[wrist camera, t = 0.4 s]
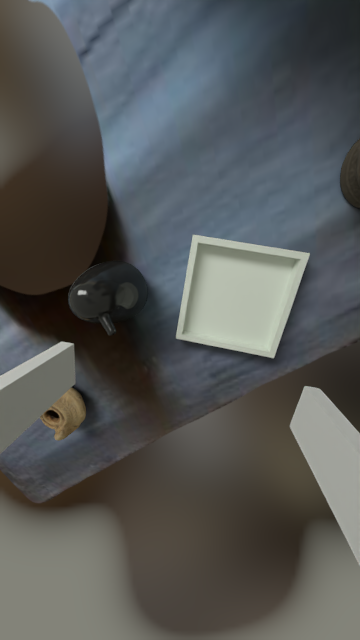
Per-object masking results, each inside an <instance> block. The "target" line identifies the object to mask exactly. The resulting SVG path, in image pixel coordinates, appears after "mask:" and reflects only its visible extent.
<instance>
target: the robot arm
mask: <svg viewBox="0 0 360 640" xmlns="http://www.w3.org/2000/svg"><path fill="white" fill-rule="evenodd" d="M74 384H75V361H74V344H71V343H66V342H60V343H59V344H57V345H55V346H53V347H51V348H50V349H48V350H46V351H44V352H42V353H41V354H39V355H37V356H35V357H33V358H32V359H30V360H28V361H26V362H25V363H23V364H21V365H19V366H17V367H16V368H14V369H12V370H10V371H8V372H7V373H5V374H3V375H1V376H0V454H1V453H2V452H3V451H4V450H5V449H6V448H7V447H8V446H9V445H10V444H11V443H12V442H14V441H15V440H16V439H17V438H18V437H19V436H20V435H21V434H22V433H23V432H24V431H25V430H26V429H27V428H28V427H30V426H31V425H32V424H33V423H34V422H35V421H36V420H37V419H38V418H39V417H40V416H41V415H42V414H43V413H44V412H46V411H47V410H48V409H49V408H50V407H51V406H52V405H53V404H54V403H55V402H56V401H57V400H58V399H59V398H61V397H62V396H63V395H64V394H65V393H66V392H67V391H68V390H69V389H70V388H71V387H72V386H73V385H74ZM290 428H291V430H292V432H293V434H294V436H295V438H296V440H297V442H298V444H299V446H300V448H301V450H302V452H303V454H304V456H305V458H306V460H307V462H308V464H309V466H310V468H311V470H312V472H313V474H314V476H315V478H316V480H317V482H318V484H319V486H320V488H321V490H322V492H323V494H324V496H325V498H326V500H327V502H328V504H329V506H330V508H331V510H332V512H333V514H334V516H335V517H336V520H337V522H338V524H339V525H340V528H341V530H342V532H343V533H344V536H345V537H346V539H347V542H348V543H349V545H350V547H351V549H352V551H353V553H354V555H355V557H356V559H357V561H358V563H359V565H360V433H359V432H358V431H357V430H356V429H355V428H354V427H353V426H352V424H351V423H350V422H349V421H348V420H347V419H346V418H345V417H344V415H343V414H342V413H341V412H340V411H339V410H338V409H337V407H336V406H335V405H334V404H333V403H332V402H331V401H330V400H329V398H328V397H327V396H326V395H325V394H324V393H323V392H322V391H321V390H320V389H319V388H314V387H308V386H305V387H304V389H303V392H302V395H301V397H300V400H299V403H298V405H297V408H296V410H295V413H294V416H293V418H292V421H291V424H290Z"/></svg>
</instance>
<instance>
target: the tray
mask: <svg viewBox="0 0 360 640" xmlns="http://www.w3.org/2000/svg"><path fill="white" fill-rule="evenodd" d="M309 255H310V253H304V252H298V251H292V250H285V249H279V248H273V247H267V246H260V245H254V244H248V243H242V242H235V241H229V240H223V239H217V238H211V237H204V236H198V235H193V238H192V244H191V250H190V256H189V262H188V268H187V274H186V280H185V286H184V291H183V297H182V303H181V309H180V315H179V321H178V327H177V333H176V339H181V340H186V341H191V342H196V343H201V344H206V345H211V346H216V347H221V348H226V349H231V350H236V351H241V352H245V353H250V354H255V355H260V356H265V357H270V358H274V356H275V353H276V351H277V348H278V345H279V342H280V339H281V336H282V333H283V330H284V327H285V325H286V322H287V319H288V316H289V313H290V310H291V307H292V304H293V301H294V299H295V296H296V293H297V290H298V287H299V284H300V281H301V278H302V275H303V273H304V270H305V267H306V264H307V261H308V258H309Z"/></svg>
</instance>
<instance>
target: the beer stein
mask: <svg viewBox="0 0 360 640" xmlns="http://www.w3.org/2000/svg"><path fill="white" fill-rule="evenodd" d="M340 184H341V189H342V192H343V194H344V197H345V198H346V199H347V200H348V201H349V203H351V204H352V205H353V206H355V207H357V208H360V139H359V140H358V141H357V142H356V143H355V144H354V145H353V146H352V148H351V149H350V151H349V152H348V154H347V155H346V158H345V160H344V162H343V165H342V168H341V175H340Z"/></svg>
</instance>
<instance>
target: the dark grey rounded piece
mask: <svg viewBox="0 0 360 640" xmlns="http://www.w3.org/2000/svg"><path fill="white" fill-rule="evenodd" d="M147 297H148V289H147V284H146V281H145V279H144V277H143V275H142V274H141V272H140V271H139V270H138V269H137V268H136V267H134V266H133V265H131V264H129V263H127V262H124V261H108V262H104V263H101V264H98V265H95V266H93V267H91V268H90V269H88V270H87V271H85V272H84V273H83V274H82V275H80V276H79V277H78V278H77V280H76V281H75V282H74V283H73V285H72V287H71V289H70V291H69V295H68V303H69V307H70V309H71V310H72V312H73V313H74V314H75V315H76V316H77V317H79V318H80V319H82V320H84V321H87V322H90V323H96V324H102V325H103V327H104V328H105V330H106V332H107V333H108V335H114V334H115V333H116V329H115V327H114V325H113V323H118V322H122V321H125V320H128V319H130V318H132V317H134V316H135V315H137V314H138V313H139V312H140V311H141V310H142V309H143V308H144V306H145V304H146V301H147Z"/></svg>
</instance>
